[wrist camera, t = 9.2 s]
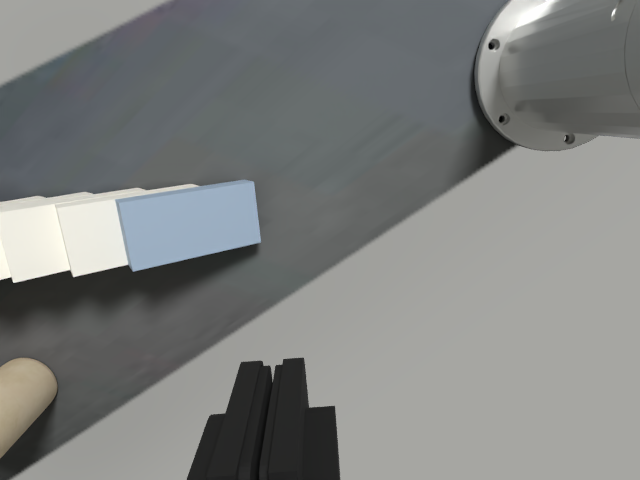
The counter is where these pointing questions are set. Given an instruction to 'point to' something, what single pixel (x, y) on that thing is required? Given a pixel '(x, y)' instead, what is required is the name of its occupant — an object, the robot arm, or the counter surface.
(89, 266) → the domino
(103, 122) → the counter surface
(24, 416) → the candle
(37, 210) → the domino
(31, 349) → the counter surface
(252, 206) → the domino
